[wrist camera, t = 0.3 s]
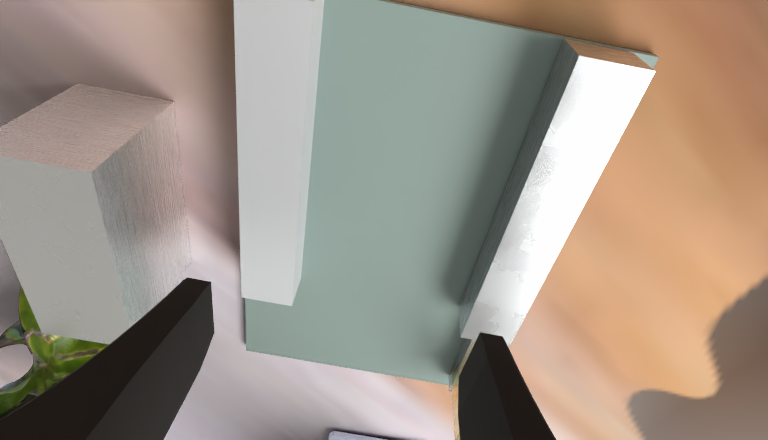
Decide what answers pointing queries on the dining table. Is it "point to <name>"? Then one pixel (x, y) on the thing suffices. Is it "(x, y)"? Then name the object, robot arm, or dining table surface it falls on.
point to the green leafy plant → (41, 358)
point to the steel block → (94, 209)
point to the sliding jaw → (548, 188)
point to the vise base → (374, 172)
